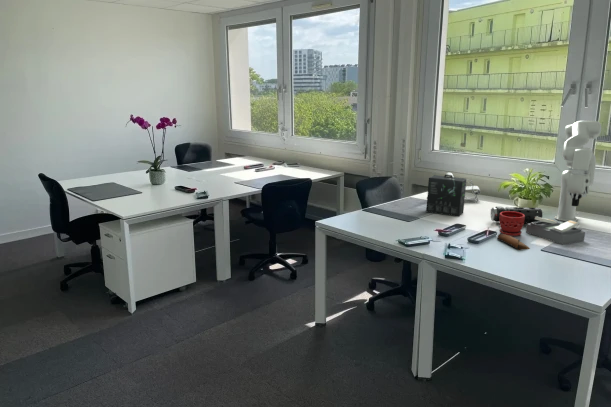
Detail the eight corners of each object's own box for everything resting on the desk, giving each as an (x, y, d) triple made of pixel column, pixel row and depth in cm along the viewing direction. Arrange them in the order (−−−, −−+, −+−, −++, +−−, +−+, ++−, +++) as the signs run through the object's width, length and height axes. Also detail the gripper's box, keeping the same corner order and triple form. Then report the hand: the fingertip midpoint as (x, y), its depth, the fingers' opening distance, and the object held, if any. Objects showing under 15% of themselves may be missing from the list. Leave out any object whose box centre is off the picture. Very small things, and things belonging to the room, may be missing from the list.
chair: (443, 197, 352) (445, 172, 347) (478, 198, 345) (480, 173, 340) (444, 200, 339) (445, 175, 334) (479, 202, 332) (481, 176, 328)
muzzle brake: (541, 226, 275) (543, 209, 272) (493, 224, 277) (495, 208, 275) (535, 221, 284) (537, 205, 281) (489, 220, 286) (490, 204, 284)
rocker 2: (570, 222, 250) (569, 219, 250) (578, 225, 246) (578, 222, 245) (554, 230, 247) (553, 227, 246) (562, 232, 242) (561, 230, 242)
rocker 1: (548, 222, 263) (549, 219, 262) (556, 224, 258) (557, 221, 258) (534, 219, 258) (535, 216, 258) (541, 221, 253) (542, 218, 253)
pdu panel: (541, 227, 271) (542, 217, 269) (583, 241, 246) (585, 230, 244) (521, 230, 265) (522, 220, 264) (562, 244, 240) (564, 233, 239)
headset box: (464, 213, 304) (467, 175, 298) (459, 217, 295) (462, 178, 288) (431, 208, 316) (433, 172, 310) (425, 212, 306) (427, 174, 300)
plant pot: (494, 230, 265) (496, 210, 263) (516, 230, 265) (519, 210, 262) (502, 237, 253) (505, 216, 250) (526, 237, 252) (529, 216, 249)
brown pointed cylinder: (532, 248, 234) (527, 238, 232) (520, 256, 233) (516, 246, 231) (510, 238, 251) (505, 228, 249) (499, 245, 250) (495, 235, 249)
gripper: (597, 174, 235) (592, 208, 239) (572, 170, 249) (567, 202, 253) (587, 174, 232) (582, 209, 237) (562, 170, 246) (557, 203, 250)
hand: (574, 205), depth 245 cm, fingers closed
